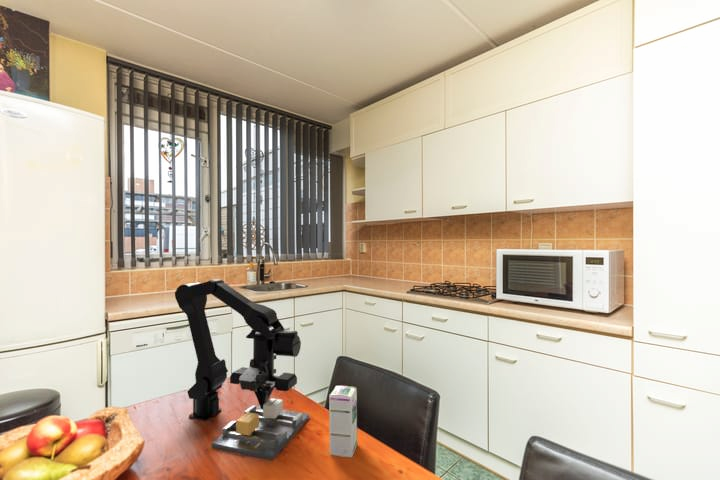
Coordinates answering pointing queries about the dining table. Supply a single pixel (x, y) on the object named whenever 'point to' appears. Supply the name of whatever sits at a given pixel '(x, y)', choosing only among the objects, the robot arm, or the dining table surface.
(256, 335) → the robot arm
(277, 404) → the fader ivory
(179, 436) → the dining table surface
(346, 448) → the syrup box
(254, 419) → the fader amber
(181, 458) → the dining table surface
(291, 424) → the console
